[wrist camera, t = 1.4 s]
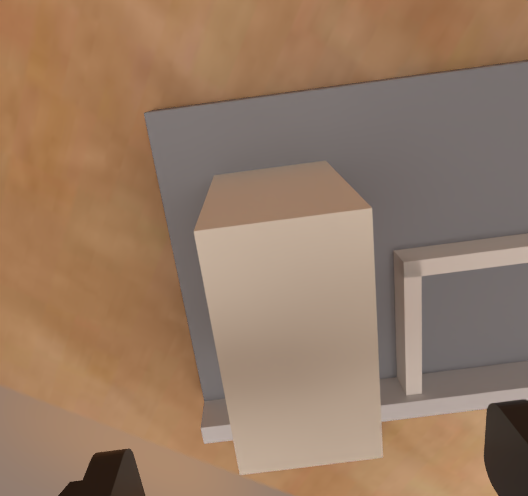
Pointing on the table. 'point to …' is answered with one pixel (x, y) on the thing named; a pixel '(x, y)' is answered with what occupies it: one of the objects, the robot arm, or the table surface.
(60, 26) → the table surface
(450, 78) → the shelf deck
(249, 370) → the cream box
